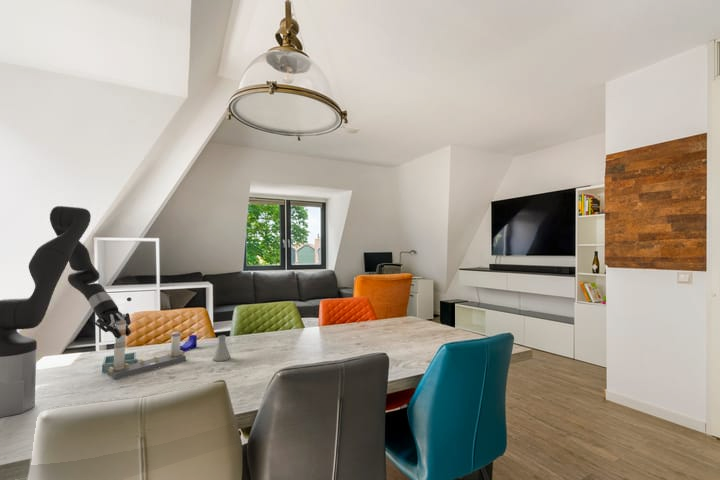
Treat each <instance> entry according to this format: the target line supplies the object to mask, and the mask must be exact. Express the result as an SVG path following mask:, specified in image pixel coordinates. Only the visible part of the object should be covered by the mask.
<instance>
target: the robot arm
mask: <svg viewBox="0 0 720 480" xmlns="http://www.w3.org/2000/svg"><path fill="white" fill-rule="evenodd" d="M91 216H92V215H91V212H90V211H89V209H87V208H84V207H78V206H66V205H65V206H64V205H57V206H54V207H53V208H52V209H51V210H50V213H49V222H50V225H51V227H52V229H53V231H54V234H56V237H53V238H52V239H49V240H48V241H46V242H45V243H43V244H41V245H40V246H39V247H38V248H37V249H36V250H35V252H34V254H33V255H32V257H31V259H30V261H29V263H28V271H29V274H30V276H31V278H32V280H33V282H34V290H33V292H32V294H31V296H29V297H28V298H27V297H26V298H4V299H0V418H3V417H9V416H13V415H18V414H23V413H25V412H26V411H28V410H30V409H32V408H33V407H35V406H36V379H37V378H36V376H37V375H36V373H37V372H36V371H37V354H38V353H37V347H38V346H37V345H38V343H37V340H36V339H35V338H31V337H28V336H24V335H22V334H21V333H19V332H18V330H28V329H29V330H30V329H34V328H36V327H38V326H39V325H40V324H41V323H42V321H43V320H44V318H45V316H46V314H47V311H48V308H49V306H50V303H51V300H52V297H53V295H54V292H55V289H56V287H57V285H58V282H59V281H60V279H61V277H62V275H63V273H64V271H65V270H66V267H67V265H68V264H69V267H70V268H71V269H72V270H73V272H71V273H69V274H68V277H67V282H68V284H69V285H70V286H71V287H72V288H74V289H76V290H77V291H79V292H80V293H81V294H82V295H83V296H84V298H85V299H86V300H87V302H88V304H89V306H90V307H91V309H92V311H93V312H94V313H95V315H96V316H97V320H96V321H95V322H94V325H95V326H96V327H98V328H99V329H101V330H102V331H103V332H105V333H108V332H109V333H111V334H112V335H113V336H114V338H117V339H118V338H120V337H121V333H120V332H119V330H118V329H116V321H119V320H126V336H125V337H129V336H131V334H132V330H131V329H130V328H129V326H130V325H131V323H132V321H131V316H130V313H128V312H126V313H125V314H124V313H122V312H120V311H119V307H118V305H117V304H116V302H115V300H113V298H112V297H111V295H110V294H108V293H107V291H106V290H105V288H104V286H103V285H102V284H100V283H96V282H97V281H99V279H100V273H99V271H98V269H96V267H95V266H94V264H93V263H92V260H91V255H90V252H89V249H88V247H86V246H85V244H83V243H82V241H80V240H81V239H82V237H83V235H84V234H85V232H86V231H87V229H88V227H89V225H90V224H91V220H92V219H91Z"/></svg>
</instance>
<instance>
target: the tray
mask: <svg viewBox="0 0 720 480" xmlns="http://www.w3.org/2000/svg"><path fill="white" fill-rule="evenodd" d="M125 363H127V364H132V363H137V352H136V351H135V352H128V353H127V352H126V353H125ZM109 367H112V368H113V367H114V354H113V355H108V356H107V355H105V356H104V357H103V361H102V366H101V370H102V371H101V373H107V372H108V369H109Z"/></svg>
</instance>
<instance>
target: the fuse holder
mask: <svg viewBox="0 0 720 480" xmlns="http://www.w3.org/2000/svg"><path fill="white" fill-rule="evenodd" d="M184 352H185V351H181V350H180V356H178V357H172V354H171V352H170V353H167V355H166V354H165V355H162V356H156V355H155V356H153V358H150V359H146V360H144V359H140V361H136V363H132V364H127V363H125V369H124V370H122V371H114V368H112V367H109V369H108V372H106V373H107V375H108V377H110V378H112V379H114V380H119V379H122V378H126V377H129V376H133V375H136V374H137V375H138V374H141V373H145V372H148V371H152V370H156V369H160V368H164V367H167V366H171V365H175V364H178V363H182V362H185V361H186V360H187V356H186V355H185V354H184ZM159 367H160V368H159Z"/></svg>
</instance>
